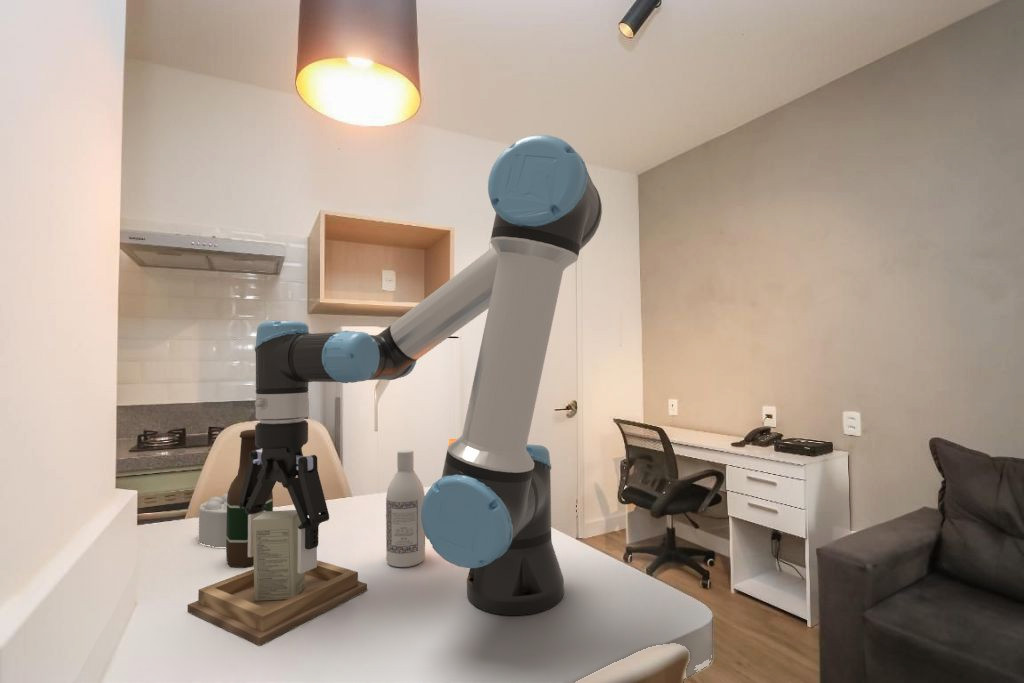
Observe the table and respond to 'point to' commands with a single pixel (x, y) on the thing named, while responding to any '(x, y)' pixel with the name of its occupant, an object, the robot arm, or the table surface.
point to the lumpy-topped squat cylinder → (213, 521)
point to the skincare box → (276, 556)
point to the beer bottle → (237, 515)
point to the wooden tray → (274, 602)
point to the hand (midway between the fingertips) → (281, 561)
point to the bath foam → (404, 515)
